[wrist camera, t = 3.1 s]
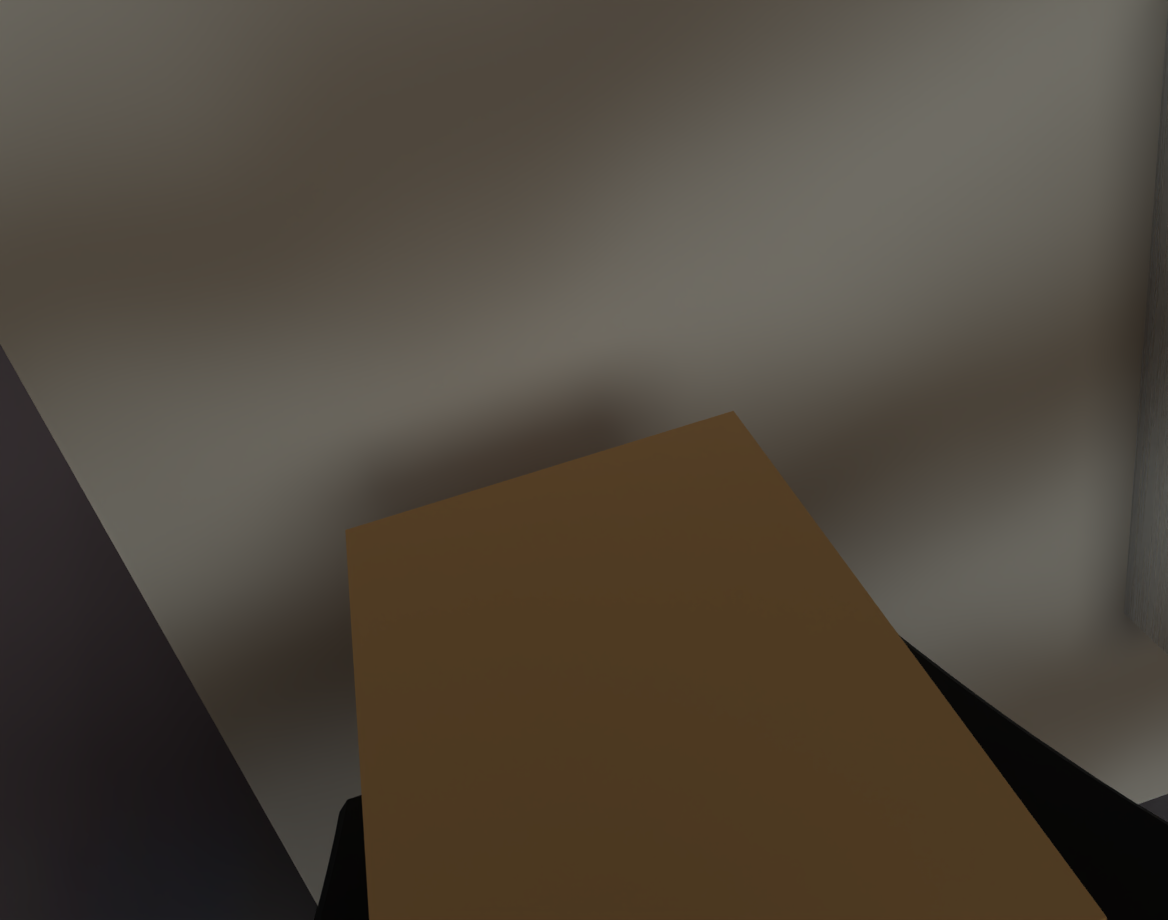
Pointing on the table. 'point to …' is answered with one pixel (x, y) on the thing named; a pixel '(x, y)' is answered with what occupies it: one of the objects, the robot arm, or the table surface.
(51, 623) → the table surface
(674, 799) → the cardboard-brown box
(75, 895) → the table surface
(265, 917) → the table surface
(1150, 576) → the grey rectangular frame
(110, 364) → the base board
